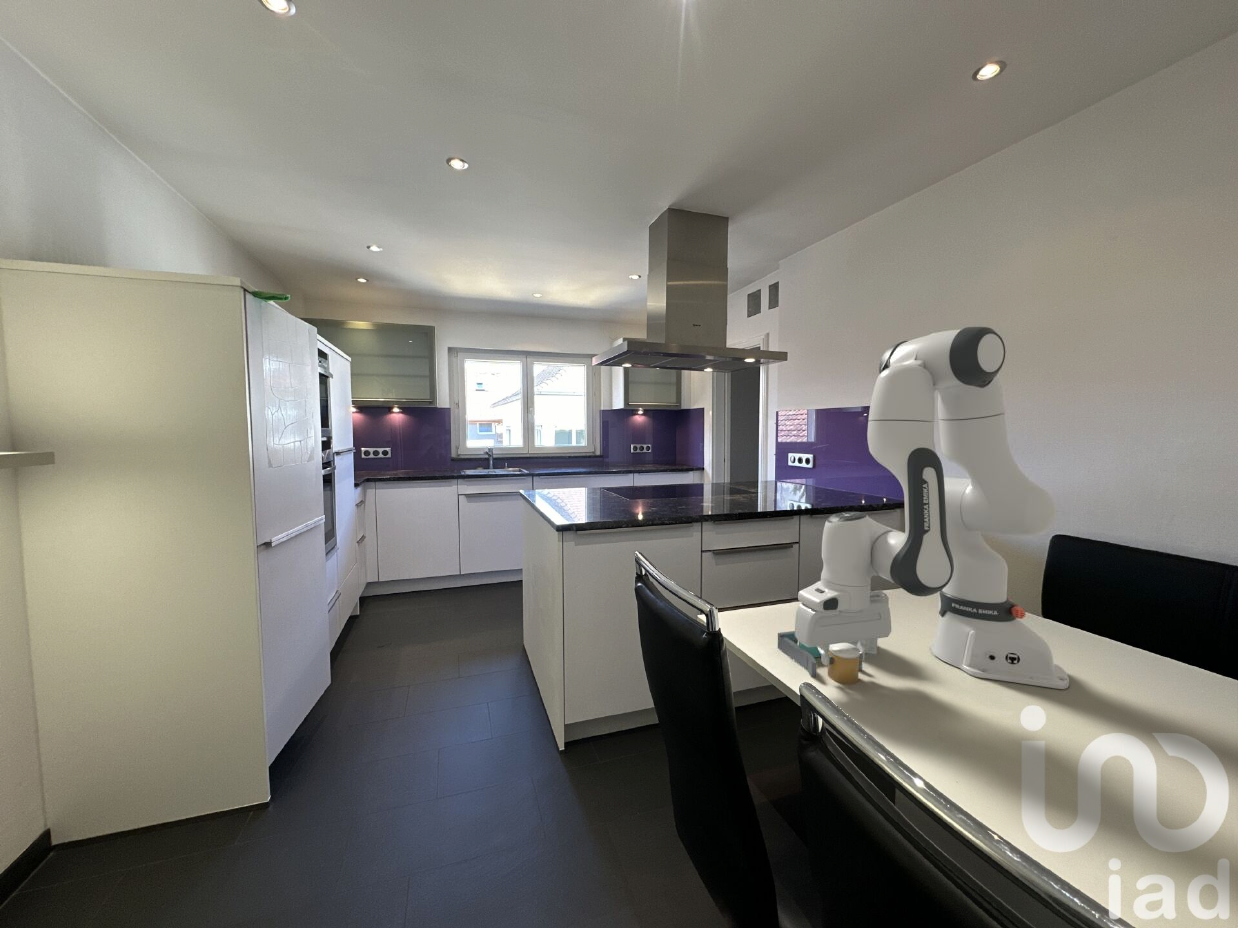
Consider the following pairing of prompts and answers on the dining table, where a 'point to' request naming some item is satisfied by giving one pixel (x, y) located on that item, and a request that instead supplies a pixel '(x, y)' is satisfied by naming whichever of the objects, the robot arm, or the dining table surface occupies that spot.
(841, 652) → the amber jar
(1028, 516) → the robot arm
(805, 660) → the lane
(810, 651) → the teal open box
